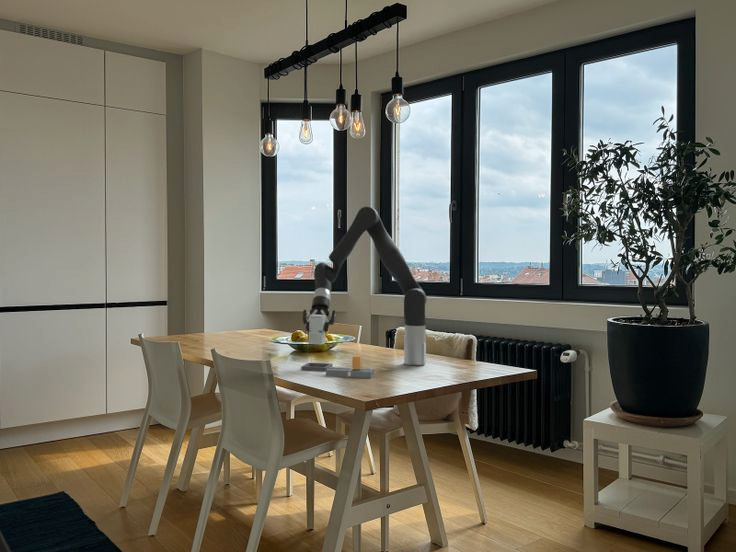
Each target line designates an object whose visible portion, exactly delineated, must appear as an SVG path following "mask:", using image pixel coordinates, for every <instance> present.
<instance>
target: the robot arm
mask: <svg viewBox="0 0 736 552" xmlns="http://www.w3.org/2000/svg"><path fill="white" fill-rule="evenodd" d="M365 232H367V233H368V235H369V236H370V239H371V240H372V242H373V244H374V247H375V249H376V252H377V255H378V257H379V259H380V261H381V262H382V264H383V266H384V267H385V269H386V270H387V272H388V274H389V275H391V276H392V278H393V279H394V280H395V281H396V283H397V284H398V286H399V287H400V289H401V291H402V293H403V295H404V297H403V298H404V299H403V319H404V337H403V338H404V343H403V344H404V349H403V351H404V352H403V360H404V361H403V363H404V364H405V365H407V366H409V365H410V366H425V365H426V363H427V342H426V327H427V326H426V325H427V324H426V303H427V300H428V299H427V294H426V292H425V291H424V290H423V288H422V287H421V285H419V283H418V281H417V280H416V279H415V278H414V277H415V276H413V274H412V272H411V270H410V267H409V265H408V263H407V261H406V259H405V258H404V255H403V254H402V253H401V251H400V249H399V247H398V246H397V244H396V243H395V241H394V240H393V238H392V237H391V236H390V234H389V233H388V232H387V230H386V228H385V225H384V224H383V221H382V219H381V217H380V215H379V213H378V211H377V210H376V209H375V208H373V207H372V206H363V207H361V208H359V210H358V211H357V213H356V216H355V217H354V220H353V221H352V222H351V224H350V226H349V227H348V229H347V231H346V233H345V234H344V235H343V236H342V237H341V239H340V241H339V242H338V243H337V245H336V246H335V247H334V249H333V250H332V251H331V252H330V254H329V255H328V259H329V261H330V262H331V263H332V264H333V265H332V267H331V266H330V265H328V264H326V263H325V262H319V263H318V264H316V266H315V267H314V271H313V278H314V284H315V288H314V292H313V296H312V301H311V308H310V310H307V309H303V312H302V314H303V315H302V323H303V324H304V325H305V329H306V331H307V332H308V333H309V320H310V315H313V314H315V315H326V323H325V328H324V331H325V333H327V332H329V330H330V329H329V327H330V326H334V324H335V320H336V314H337V313H336V310H332V311H330V304H331V295H332V284H333V283H334V282H335V281H336V279H337V278H338V275H339V272H340V270H341V268H342V266H343V264H344V262H345V261H346V260H347V258H349V256H350V255H351V253H352V251H353V250H354V248H355V246H356V244H357V242H358V241H359V239H360V238H361V236H362V235H363V234H364V233H365ZM308 316H309V317H308ZM328 316H330V319H328Z"/></svg>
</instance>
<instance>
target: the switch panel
mask: <svg viewBox="0 0 736 552" xmlns="http://www.w3.org/2000/svg"><path fill="white" fill-rule="evenodd" d="M374 376H375V368H366V367H365V368H363V367H362V368H361V369H360V370H357V369H352V367H340V366H333V367H329V368H328V369H326V371H325V377H336V378H337V377H338V378H339V377H340V378H359V379H360V378H361V379H372V378H373V377H374Z"/></svg>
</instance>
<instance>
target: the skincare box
mask: <svg viewBox="0 0 736 552" xmlns="http://www.w3.org/2000/svg"><path fill="white" fill-rule="evenodd" d="M309 317H310V320H309V332H308V344H309V345H317V346H319V345H325V344H326V332H325V331H324V328H325V323H326V315H315V314H313V315H310V314H309Z"/></svg>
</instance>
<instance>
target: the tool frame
mask: <svg viewBox="0 0 736 552" xmlns="http://www.w3.org/2000/svg"><path fill="white" fill-rule="evenodd" d="M329 367H334V365H333V363H330V362H329V363H328V362H327V363H325V362H306V363H305V364H303V365H300V370H301V371H309V372H311V371H313V372H326V369H328V368H329Z"/></svg>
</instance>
